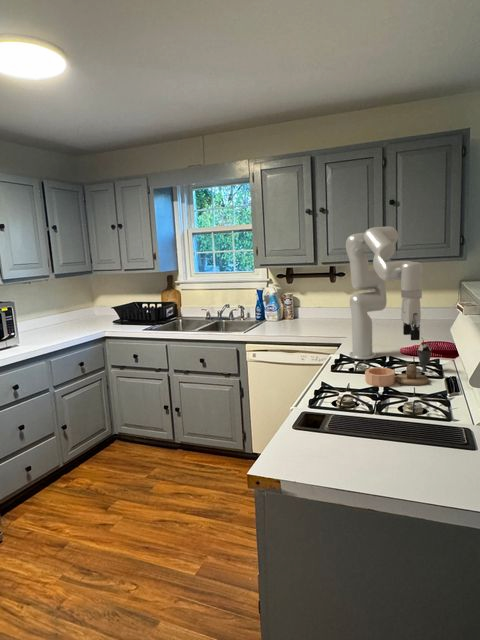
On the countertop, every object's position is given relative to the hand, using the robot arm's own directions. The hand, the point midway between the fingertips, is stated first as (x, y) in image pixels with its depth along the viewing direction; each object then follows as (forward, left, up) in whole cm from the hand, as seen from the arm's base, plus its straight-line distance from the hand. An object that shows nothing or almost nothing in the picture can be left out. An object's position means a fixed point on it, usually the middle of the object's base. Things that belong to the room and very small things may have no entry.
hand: (411, 337), depth 175 cm
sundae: (-12, +9, -19) cm, 24 cm away
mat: (0, 0, -19) cm, 19 cm away
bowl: (0, -12, -19) cm, 22 cm away
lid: (0, 0, -18) cm, 18 cm away
